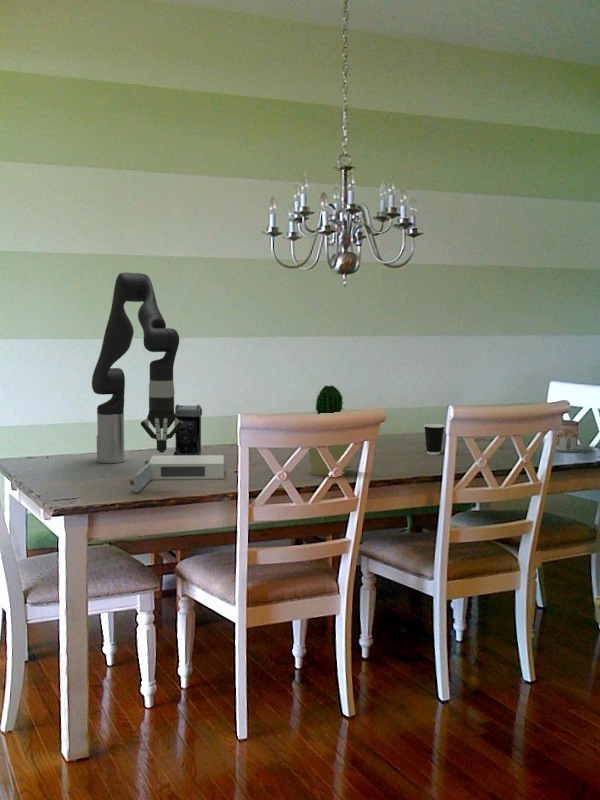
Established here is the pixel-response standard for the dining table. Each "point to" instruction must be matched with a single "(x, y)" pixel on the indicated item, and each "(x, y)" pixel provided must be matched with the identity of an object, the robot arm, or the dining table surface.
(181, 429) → the vintage camera
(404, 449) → the dining table surface
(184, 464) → the white flat box
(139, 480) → the side door
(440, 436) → the dixie cup
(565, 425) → the house shaped jar
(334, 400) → the potted cactus
